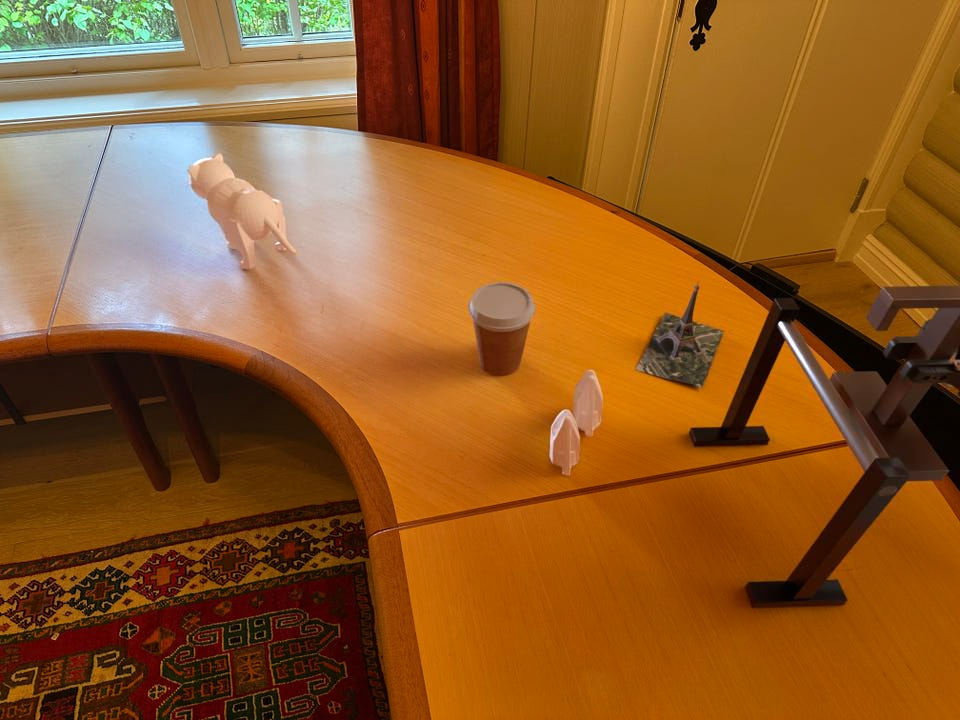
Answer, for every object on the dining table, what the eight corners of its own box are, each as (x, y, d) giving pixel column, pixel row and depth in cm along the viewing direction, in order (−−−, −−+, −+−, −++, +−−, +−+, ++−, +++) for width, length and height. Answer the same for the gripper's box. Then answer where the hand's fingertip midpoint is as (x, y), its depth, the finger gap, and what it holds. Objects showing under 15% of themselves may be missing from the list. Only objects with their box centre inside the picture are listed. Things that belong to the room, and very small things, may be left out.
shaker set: (579, 406, 86) (588, 348, 79) (606, 417, 85) (619, 360, 77) (540, 463, 79) (546, 406, 71) (569, 477, 77) (578, 420, 70)
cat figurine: (323, 260, 113) (306, 177, 102) (281, 288, 107) (257, 202, 96) (235, 222, 124) (210, 142, 112) (191, 245, 117) (160, 163, 106)
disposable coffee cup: (517, 336, 98) (521, 274, 89) (540, 375, 91) (546, 313, 83) (461, 348, 95) (459, 287, 87) (480, 390, 89) (480, 327, 81)
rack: (843, 605, 65) (960, 477, 49) (752, 608, 65) (840, 480, 49) (760, 431, 83) (827, 296, 67) (688, 433, 83) (738, 297, 67)
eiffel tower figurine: (702, 392, 88) (728, 321, 79) (635, 369, 92) (652, 299, 83) (723, 332, 98) (748, 264, 89) (661, 314, 102) (680, 246, 92)
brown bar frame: (870, 380, 70) (953, 247, 58) (941, 480, 60) (1060, 344, 47) (784, 382, 70) (849, 248, 58) (841, 483, 60) (934, 346, 47)
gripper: (1046, 282, 61) (876, 285, 60) (1165, 379, 51) (962, 383, 50) (1002, 338, 66) (845, 341, 66) (1102, 437, 56) (917, 441, 55)
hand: (897, 359), depth 58 cm, fingers closed on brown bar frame, 2 cm apart
